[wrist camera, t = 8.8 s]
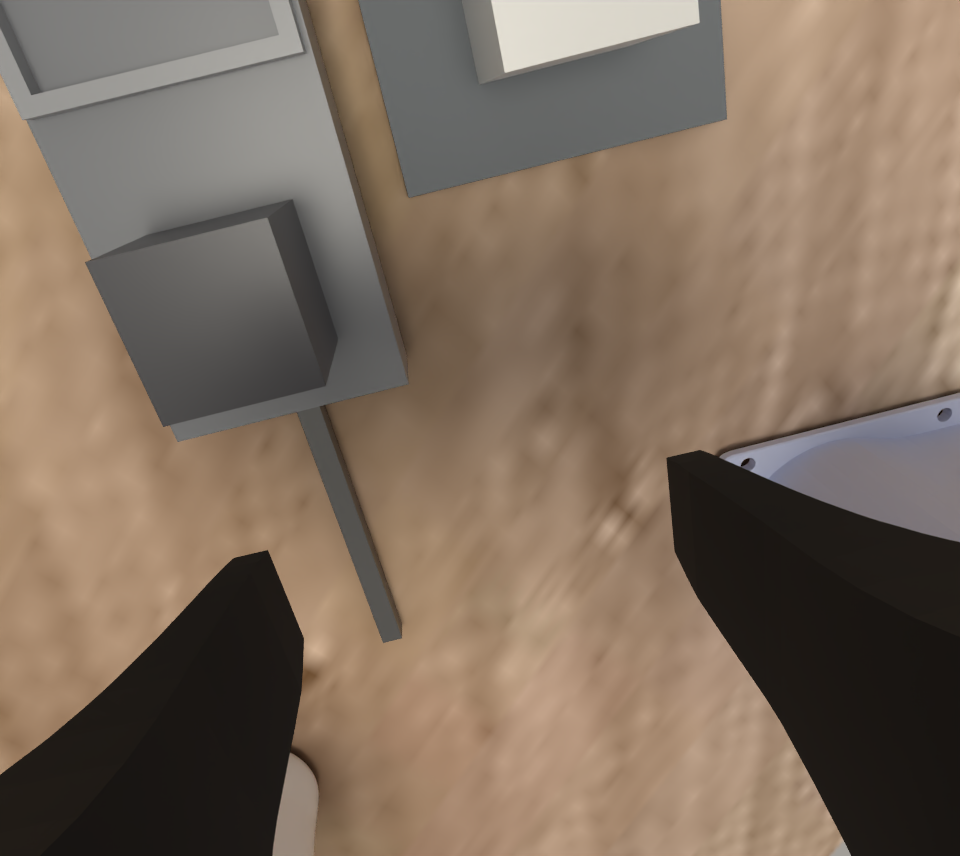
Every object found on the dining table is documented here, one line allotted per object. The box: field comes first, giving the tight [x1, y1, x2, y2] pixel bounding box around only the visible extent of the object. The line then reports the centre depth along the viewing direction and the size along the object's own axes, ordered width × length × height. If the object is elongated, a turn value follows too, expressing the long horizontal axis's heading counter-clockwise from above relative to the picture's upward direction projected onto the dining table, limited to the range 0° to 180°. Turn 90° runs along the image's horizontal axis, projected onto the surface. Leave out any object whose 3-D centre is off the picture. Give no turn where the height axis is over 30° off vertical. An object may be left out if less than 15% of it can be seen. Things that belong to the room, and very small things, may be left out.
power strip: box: [0, 0, 409, 643], centre depth 16 cm, size 6×29×6 cm, turn 13°
